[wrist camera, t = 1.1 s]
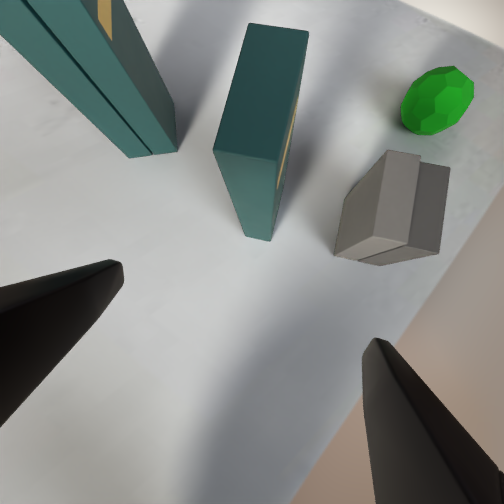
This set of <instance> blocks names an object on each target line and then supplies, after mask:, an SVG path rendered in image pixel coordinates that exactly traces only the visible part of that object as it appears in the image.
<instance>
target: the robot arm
mask: <svg viewBox="0 0 504 504" xmlns="http://www.w3.org/2000/svg"><path fill="white" fill-rule="evenodd" d="M123 283H124V274H123V266H122V263H121V262H119V261H115V260H112V259H108V260H104V261H100V262H96V263H93V264H89V265H85V266H81V267H77V268H73V269H69V270H66V271H62V272H58V273H54V274H50V275H46V276H42V277H38V278H35V279H31V280H27V281H23V282H19V283H15V284H11V285H7V286H4V287H0V427H1V426H2V425H3V424H4V423H5V422H6V421H7V420H8V418H9V417H10V416H11V415H12V414H13V413H14V412H15V411H16V410H17V408H18V407H19V406H20V405H21V404H22V403H23V402H24V401H25V400H26V399H27V397H28V396H29V395H30V394H31V393H32V392H33V391H34V390H35V389H36V387H37V386H38V385H39V384H40V383H41V382H42V381H43V380H44V379H45V377H46V376H47V375H48V374H49V373H50V372H51V371H52V370H53V369H54V368H55V366H56V365H57V364H58V363H59V362H60V361H61V360H62V359H63V358H64V356H65V355H66V354H67V353H68V352H69V351H70V350H71V349H72V348H73V346H74V345H75V344H76V343H77V342H78V341H79V340H80V339H81V338H82V337H83V335H84V334H85V333H86V332H87V331H88V330H89V329H90V328H91V327H92V325H93V324H94V323H95V322H96V321H97V319H98V318H99V317H100V316H101V314H102V313H103V312H104V310H105V309H106V308H107V306H108V305H109V304H110V302H111V301H112V300H113V298H114V297H115V295H116V294H117V293H118V291H119V290H120V289H121V287H122V286H123ZM362 384H363V409H364V418H365V426H366V433H367V441H368V448H369V456H370V464H371V470H372V479H373V485H374V494H375V500H376V501H375V502H376V504H504V473H503V472H502V471H499V469H498V467H497V465H496V464H495V463H494V462H493V461H492V460H491V459H490V457H489V456H488V455H487V454H486V453H485V452H484V450H483V449H482V448H481V447H480V446H479V445H478V444H477V442H476V441H475V440H474V439H473V438H472V437H471V436H470V434H469V433H468V432H467V431H466V430H465V429H464V427H462V425H461V424H460V423H459V422H458V421H457V420H456V418H455V417H454V416H453V415H452V414H451V412H450V411H449V410H448V409H447V408H446V407H445V406H444V405H443V403H442V402H441V401H440V400H439V399H438V398H437V396H436V395H435V394H434V393H433V392H432V391H431V390H430V388H429V387H428V386H427V385H426V384H425V383H424V381H423V380H422V379H421V378H420V377H419V376H418V375H417V373H416V372H415V371H414V370H413V369H412V368H411V367H410V365H409V364H408V363H407V362H406V361H405V360H404V359H403V357H402V356H401V355H400V354H399V353H398V352H397V351H396V349H395V348H394V347H393V346H392V345H391V344H390V343H389V342H388V341H386V340H383V339H380V338H373V339H372V341H371V342H370V344H369V345H368V347H367V348H366V350H365V351H364V353H363V356H362Z"/></svg>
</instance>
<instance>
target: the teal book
mask: <svg viewBox="0 0 504 504" xmlns="http://www.w3.org/2000/svg"><path fill="white" fill-rule="evenodd" d="M308 38H309V32H308V31H304V30H297V29H290V28H283V27H276V26H269V25H261V24H254V23H249V24H248V27H247V30H246V34H245V38H244V41H243V45H242V48H241V52H240V55H239V59H238V62H237V66H236V69H235V73H234V76H233V80H232V83H231V87H230V90H229V94H228V97H227V101H226V105H225V108H224V112H223V115H222V119H221V122H220V126H219V129H218V133H217V136H216V140H215V143H214V147H213V153H214V155H215V158H216V160H217V163H218V166H219V168H220V171H221V173H222V176H223V179H224V181H225V184H226V186H227V189H228V192H229V194H230V197H231V199H232V202H233V205H234V207H235V210H236V212H237V215H238V218H239V220H240V223H241V225H242V228H243V231H244V233H245V236H247V237H251V238H256V239H260V240H265V241H269V242H270V241H271V238H272V234H273V229H274V225H275V221H276V217H277V212H278V208H279V204H280V199H281V195H282V191H283V186H284V180H285V175H286V169H287V163H288V157H289V151H290V145H291V139H292V133H293V127H294V121H295V115H296V109H297V103H298V97H299V91H300V85H301V79H302V73H303V67H304V61H305V56H306V50H307V44H308Z"/></svg>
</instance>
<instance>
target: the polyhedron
mask: <svg viewBox="0 0 504 504" xmlns="http://www.w3.org/2000/svg"><path fill="white" fill-rule="evenodd" d="M473 98H474V82H473V81H471V80H470V79H469V78H468V77H467V76H466V75H464V74H463V73H462V72H461V71H460V70H458V69H457V68H456V67H455V66H447V67H438V68H436V69H433V70H431V71H428V72H426V73H425V74H424V75H422V76H421V77H419V78H418V79H417V80H415V81H414V82H413V84H412V85H411V87H410V89H409V90H408V92H407V94H406V96H405V98H404V100H403V102H402V104H401V118H402V122H403V124H404V125H405V126H406V127H407V128H408V129H409V130H410V131H411V132H413V133H415V134H417V135H433V134H436V133H438V132H441V131H443V130H445V129H447V128H448V127H450V126H452V125H454V124H456V123H457V122H458V121H459V119H460V118H461V117H462V115H463V114H464V112H465V111H466V109H467V108H468V106H469V105H470V103H471V101H472V100H473Z"/></svg>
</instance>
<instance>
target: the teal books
mask: <svg viewBox="0 0 504 504" xmlns="http://www.w3.org/2000/svg"><path fill="white" fill-rule="evenodd" d="M0 35H1V36H2V37H3V38H4V39H5V40H6V41H7V42H8V43H9V44H11V45H12V46H13V47H14V48H15V49H16V50H17V51H18V52H19V53H20V54H21V55H22V56H23V57H24V58H25V59H26V60H27V61H28V62H29V63H30V64H31V65H32V66H33V67H34V68H36V69H37V70H38V71H39V72H40V73H41V74H42V75H43V76H44V77H45V78H46V79H47V80H48V81H49V82H50V83H51V84H52V85H53V86H54V87H55V88H56V89H57V90H58V91H60V92H61V93H62V94H63V95H64V96H65V97H66V98H67V99H68V100H69V101H70V102H71V103H72V104H73V105H74V106H75V107H76V108H77V109H78V110H79V111H80V112H81V113H82V114H84V115H85V116H86V117H87V118H88V119H89V120H90V121H91V122H92V123H93V124H94V125H95V126H96V127H97V128H98V129H99V130H100V131H101V132H102V133H103V134H104V135H105V136H106V137H107V138H109V139H110V140H111V141H112V142H113V143H114V144H115V145H116V146H117V147H118V148H119V149H120V150H121V151H122V152H123V153H124V154H125V155H126V156H127V157H128V158H135V157H143V156H150V155H152V152H153V154H154V155H157V154H164V153H171V152H177V137H176V122H175V108H174V102H173V100H172V98H171V96H170V94H169V92H168V90H167V88H166V86H165V84H164V82H163V80H162V78H161V76H160V74H159V72H158V70H157V68H156V66H155V64H154V62H153V59H152V57H151V55H150V53H149V51H148V49H147V47H146V45H145V43H144V41H143V39H142V37H141V35H140V33H139V31H138V29H137V27H136V25H135V23H134V21H133V19H132V17H131V15H130V13H129V11H128V9H127V7H126V5H125V3H124V1H123V0H0Z"/></svg>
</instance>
